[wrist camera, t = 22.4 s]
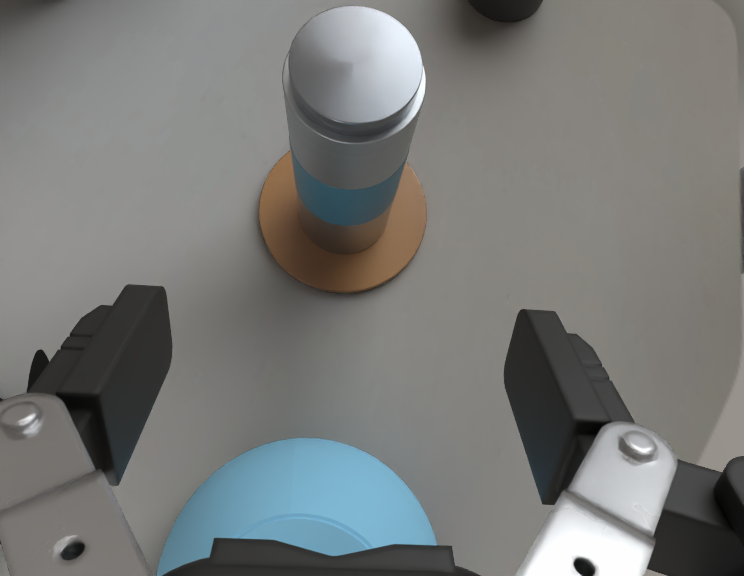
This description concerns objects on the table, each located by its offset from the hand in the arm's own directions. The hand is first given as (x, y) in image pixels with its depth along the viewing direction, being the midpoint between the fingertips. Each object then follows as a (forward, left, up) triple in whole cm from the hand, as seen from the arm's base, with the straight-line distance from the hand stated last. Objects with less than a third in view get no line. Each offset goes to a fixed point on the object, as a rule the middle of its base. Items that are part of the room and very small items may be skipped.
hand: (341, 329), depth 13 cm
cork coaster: (0, -12, -23) cm, 26 cm away
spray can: (0, -11, -22) cm, 25 cm away
